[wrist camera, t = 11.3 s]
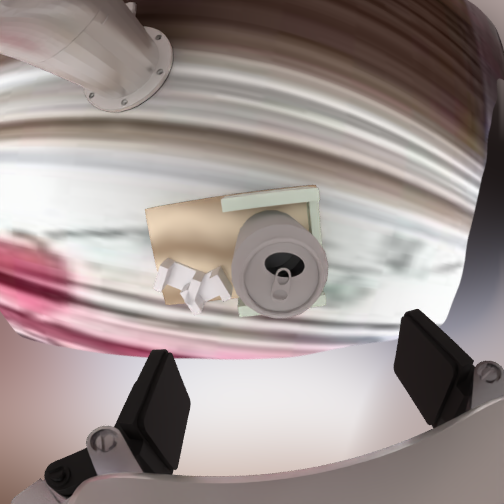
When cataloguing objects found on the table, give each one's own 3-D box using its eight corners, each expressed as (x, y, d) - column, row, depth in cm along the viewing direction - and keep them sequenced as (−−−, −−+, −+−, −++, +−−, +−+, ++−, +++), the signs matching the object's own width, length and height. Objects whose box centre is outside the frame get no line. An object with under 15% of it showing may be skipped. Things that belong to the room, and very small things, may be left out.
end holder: (225, 196, 29) (220, 199, 24) (313, 185, 29) (325, 187, 24) (240, 297, 32) (239, 317, 27) (321, 286, 32) (332, 304, 27)
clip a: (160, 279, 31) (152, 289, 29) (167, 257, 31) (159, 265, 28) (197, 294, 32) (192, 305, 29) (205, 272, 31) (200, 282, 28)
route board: (147, 208, 30) (144, 209, 29) (314, 184, 30) (316, 185, 29) (167, 301, 33) (165, 305, 32) (321, 283, 33) (323, 286, 32)
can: (309, 215, 30) (345, 237, 18) (296, 278, 32) (320, 332, 20) (242, 204, 29) (237, 219, 18) (232, 269, 31) (223, 320, 20)
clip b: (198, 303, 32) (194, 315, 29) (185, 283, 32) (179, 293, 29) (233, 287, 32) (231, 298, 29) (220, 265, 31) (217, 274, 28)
